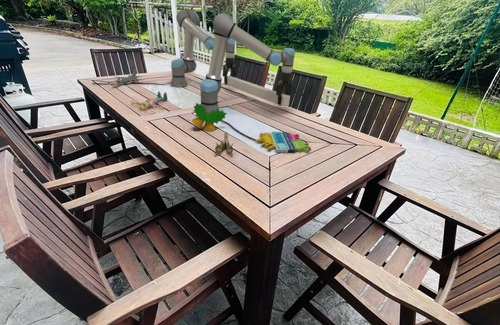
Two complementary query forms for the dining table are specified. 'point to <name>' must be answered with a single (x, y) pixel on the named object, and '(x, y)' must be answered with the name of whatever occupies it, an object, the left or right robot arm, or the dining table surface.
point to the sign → (283, 142)
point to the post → (257, 90)
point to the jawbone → (224, 145)
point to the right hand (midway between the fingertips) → (282, 103)
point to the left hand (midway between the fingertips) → (229, 84)
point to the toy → (152, 102)
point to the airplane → (127, 79)
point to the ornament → (207, 117)
